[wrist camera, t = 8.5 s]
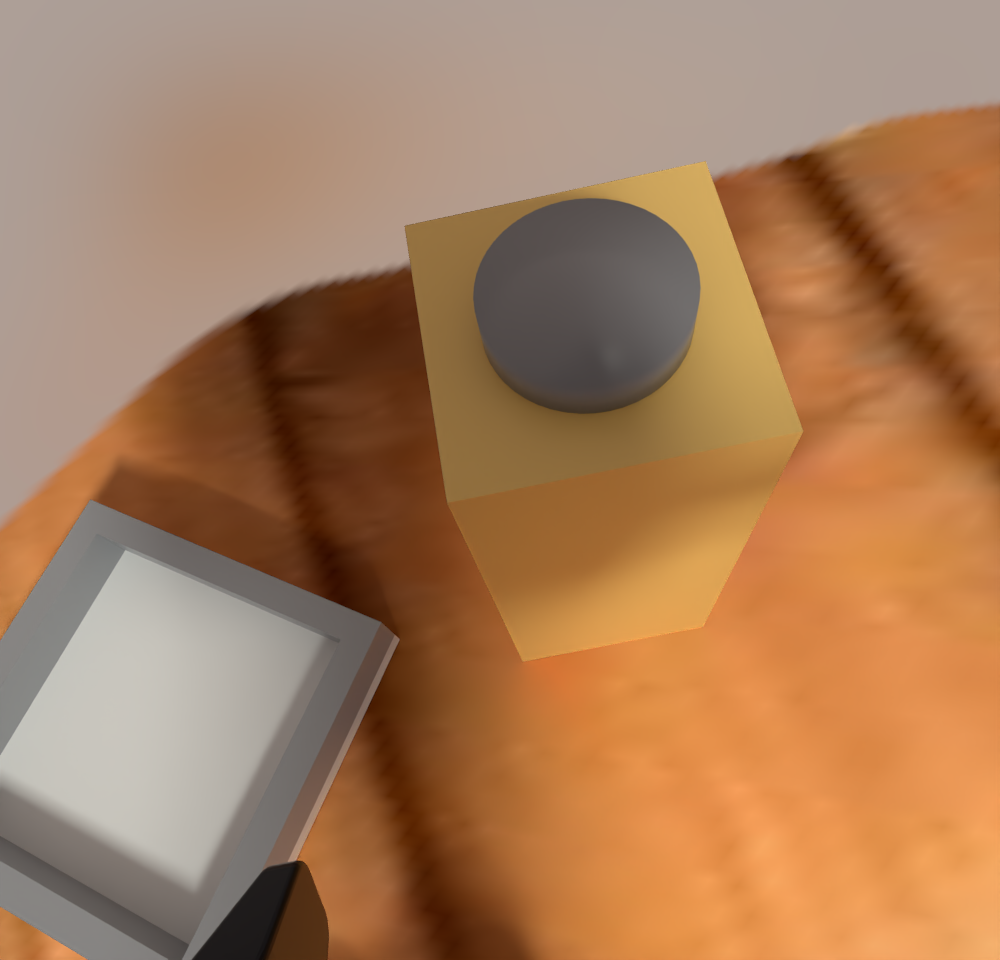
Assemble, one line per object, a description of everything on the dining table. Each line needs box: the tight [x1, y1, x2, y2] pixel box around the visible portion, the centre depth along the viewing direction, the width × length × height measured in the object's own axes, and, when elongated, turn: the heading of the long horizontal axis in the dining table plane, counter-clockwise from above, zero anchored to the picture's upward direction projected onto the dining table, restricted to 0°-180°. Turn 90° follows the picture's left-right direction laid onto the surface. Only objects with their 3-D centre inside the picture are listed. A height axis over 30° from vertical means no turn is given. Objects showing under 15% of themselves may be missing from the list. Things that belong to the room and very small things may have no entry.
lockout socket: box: [0, 500, 400, 960], centre depth 22 cm, size 10×10×2 cm
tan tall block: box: [405, 161, 803, 662], centre depth 17 cm, size 5×5×13 cm
